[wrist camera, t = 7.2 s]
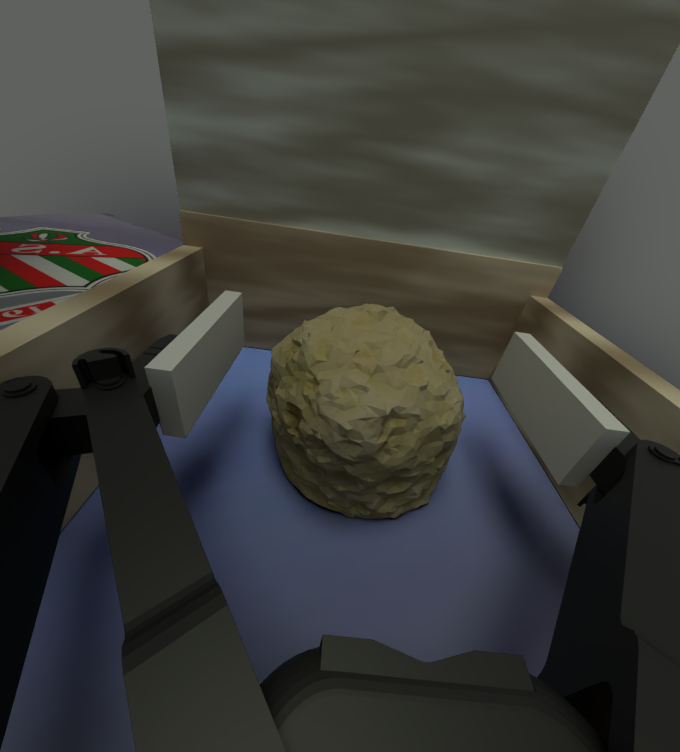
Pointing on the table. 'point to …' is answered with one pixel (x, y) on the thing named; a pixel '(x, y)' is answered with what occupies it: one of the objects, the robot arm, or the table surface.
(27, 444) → the robot arm
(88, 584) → the table surface
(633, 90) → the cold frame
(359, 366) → the olive rounded lump
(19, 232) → the decorative emblem
